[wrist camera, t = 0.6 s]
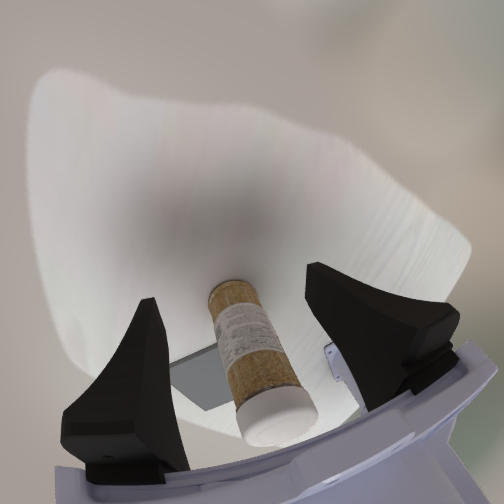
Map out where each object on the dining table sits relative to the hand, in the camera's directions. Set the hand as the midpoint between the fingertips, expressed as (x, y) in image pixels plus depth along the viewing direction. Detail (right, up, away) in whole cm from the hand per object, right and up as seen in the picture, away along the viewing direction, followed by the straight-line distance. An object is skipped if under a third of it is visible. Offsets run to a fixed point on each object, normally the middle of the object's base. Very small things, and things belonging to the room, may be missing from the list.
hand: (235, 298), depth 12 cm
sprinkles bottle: (-1, -2, +12) cm, 12 cm away
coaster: (-3, -12, +16) cm, 20 cm away
